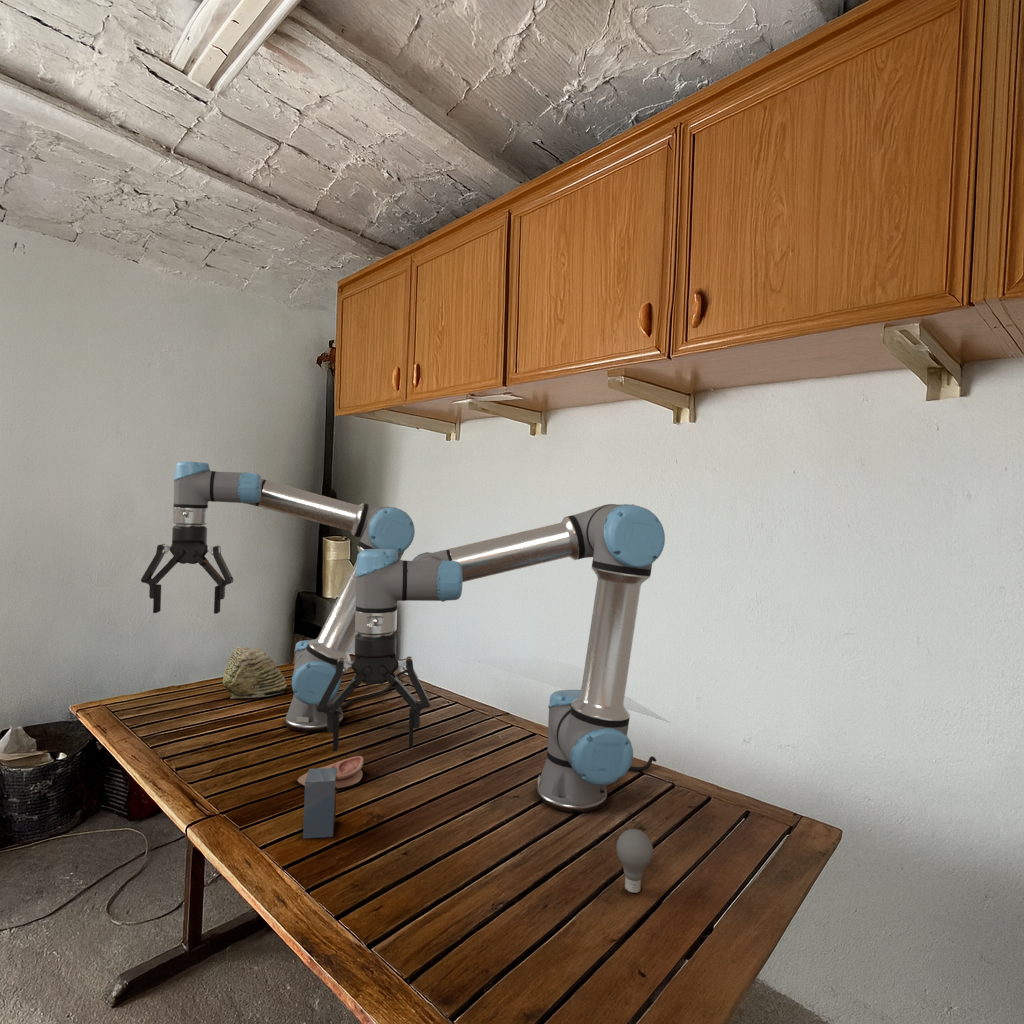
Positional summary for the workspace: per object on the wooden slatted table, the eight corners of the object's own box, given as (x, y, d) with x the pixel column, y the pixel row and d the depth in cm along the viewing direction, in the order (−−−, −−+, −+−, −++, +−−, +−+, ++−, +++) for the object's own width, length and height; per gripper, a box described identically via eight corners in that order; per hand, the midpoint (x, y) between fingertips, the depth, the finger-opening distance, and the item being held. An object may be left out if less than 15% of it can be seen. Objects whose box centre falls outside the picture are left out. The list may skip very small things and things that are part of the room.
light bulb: (610, 879, 108) (613, 822, 108) (644, 879, 109) (647, 822, 109) (619, 902, 102) (622, 840, 102) (655, 901, 103) (658, 840, 103)
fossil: (218, 695, 195) (220, 647, 195) (278, 685, 208) (279, 640, 207) (228, 703, 189) (230, 653, 188) (289, 692, 201) (290, 645, 201)
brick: (306, 822, 123) (308, 768, 123) (335, 821, 124) (337, 767, 124) (302, 838, 117) (305, 781, 117) (332, 837, 118) (335, 780, 118)
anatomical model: (290, 768, 137) (317, 748, 149) (290, 786, 138) (316, 764, 149) (347, 776, 135) (370, 755, 146) (346, 794, 135) (369, 772, 146)
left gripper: (127, 524, 148) (124, 614, 148) (241, 527, 152) (237, 615, 153) (139, 522, 155) (137, 609, 155) (247, 526, 160) (244, 610, 160)
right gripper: (302, 638, 111) (300, 758, 112) (445, 636, 116) (442, 751, 116) (308, 629, 118) (306, 741, 119) (442, 627, 123) (439, 736, 123)
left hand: (187, 612), depth 154 cm, fingers open, 13 cm apart
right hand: (373, 746), depth 117 cm, fingers open, 13 cm apart
